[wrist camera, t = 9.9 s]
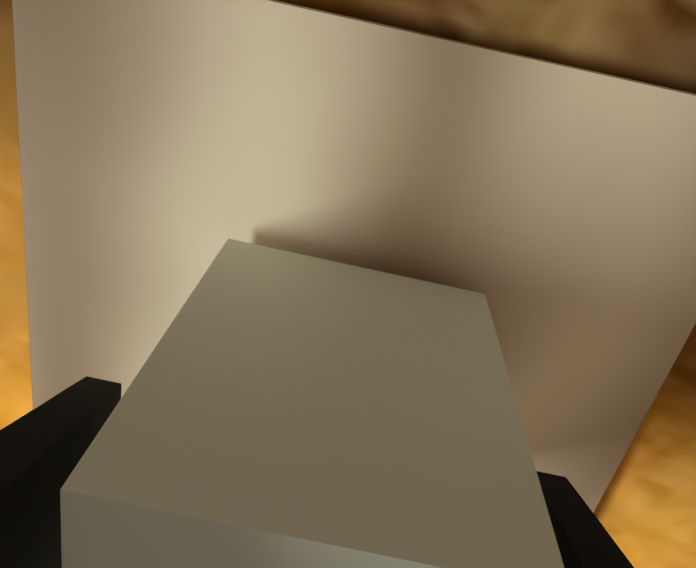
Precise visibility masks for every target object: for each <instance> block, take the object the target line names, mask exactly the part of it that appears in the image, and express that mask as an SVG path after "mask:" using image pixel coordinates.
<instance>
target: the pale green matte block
mask: <svg viewBox="0 0 696 568" xmlns="http://www.w3.org/2000/svg"><path fill="white" fill-rule="evenodd" d="M60 507H61V553H62V568H564V565H563V561H562V558H561V554H560V551H559V547H558V544H557V541H556V537H555V534H554V530H553V527H552V523H551V520H550V516H549V513H548V510H547V506H546V503H545V499H544V496H543V492H542V489H541V485H540V482H539V479H538V475H537V472H536V468H535V465H534V461H533V458H532V454H531V451H530V448H529V444H528V441H527V437H526V434H525V430H524V427H523V423H522V420H521V417H520V413H519V410H518V406H517V403H516V399H515V396H514V393H513V389H512V386H511V382H510V379H509V375H508V372H507V368H506V365H505V362H504V358H503V355H502V351H501V348H500V344H499V341H498V337H497V334H496V331H495V327H494V324H493V320H492V317H491V313H490V310H489V306H488V303H487V300H486V296H485V294H483V293H478V292H474V291H469V290H464V289H460V288H455V287H451V286H446V285H441V284H437V283H432V282H427V281H423V280H418V279H414V278H409V277H404V276H400V275H395V274H390V273H386V272H381V271H377V270H372V269H367V268H363V267H358V266H353V265H349V264H344V263H340V262H335V261H330V260H326V259H321V258H316V257H312V256H307V255H302V254H298V253H293V252H289V251H284V250H279V249H275V248H270V247H265V246H261V245H256V244H252V243H247V242H242V241H238V240H233V239H227V241H226V242H225V244H224V245H223V247H222V248H221V250H220V251H219V253H218V254H217V256H216V257H215V259H214V260H213V262H212V263H211V265H210V266H209V268H208V269H207V271H206V272H205V274H204V275H203V277H202V278H201V280H200V281H199V283H198V284H197V286H196V287H195V289H194V290H193V292H192V293H191V295H190V296H189V298H188V299H187V301H186V302H185V304H184V305H183V307H182V308H181V310H180V311H179V313H178V314H177V316H176V317H175V319H174V320H173V322H172V323H171V325H170V326H169V328H168V329H167V331H166V332H165V334H164V335H163V337H162V338H161V340H160V341H159V343H158V344H157V346H156V347H155V349H154V350H153V352H152V353H151V355H150V356H149V358H148V359H147V361H146V362H145V364H144V365H143V367H142V368H141V370H140V371H139V373H138V374H137V376H136V377H135V379H134V380H133V382H132V383H131V385H130V386H129V388H128V389H127V391H126V392H125V393H124V395H123V396H122V398H121V399H120V401H119V402H118V404H117V405H116V407H115V408H114V410H113V411H112V413H111V414H110V416H109V417H108V419H107V420H106V422H105V423H104V425H103V426H102V428H101V429H100V431H99V432H98V434H97V435H96V437H95V438H94V440H93V441H92V443H91V444H90V446H89V447H88V449H87V450H86V452H85V453H84V455H83V456H82V458H81V459H80V461H79V462H78V464H77V465H76V467H75V468H74V470H73V471H72V473H71V474H70V476H69V477H68V479H67V480H66V482H65V483H64V485H63V486H62V488H61V489H60Z"/></svg>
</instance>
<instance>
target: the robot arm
mask: <svg viewBox="0 0 696 568" xmlns="http://www.w3.org/2000/svg"><path fill="white" fill-rule="evenodd" d="M120 399H121V383H116V382H112V381H107V380H102V379H97V378H93V377H88V376H86V377H84V378H83V379H81V380H80V381H78V382H76V383H75V384H73V385H71V386H70V387H68V388H66V389H65V390H63V391H62V392H60V393H59V394H57V395H55V396H54V397H52V398H51V399H49V400H48V401H46V402H44V403H43V404H41V405H40V406H38V407H37V408H35V409H33V410H32V411H30V412H29V413H27V414H26V415H24V416H22V417H21V418H19V419H18V420H16V421H14V422H13V423H11V424H10V425H8V426H6V427H5V428H3V429H1V430H0V568H62V553H61V507H60V489H61V488H62V486H63V485H64V483H65V482H66V480H67V479H68V477H69V476H70V474H71V473H72V471H73V470H74V468H75V467H76V465H77V464H78V462H79V461H80V459H81V458H82V456H83V455H84V453H85V452H86V450H87V449H88V447H89V446H90V444H91V443H92V441H93V440H94V438H95V437H96V435H97V434H98V432H99V431H100V429H101V428H102V426H103V425H104V423H105V422H106V420H107V419H108V417H109V416H110V414H111V413H112V411H113V410H114V408H115V407H116V405H117V404H118V402H119V401H120ZM536 472H537V475H538V479H539V482H540V485H541V489H542V492H543V496H544V499H545V503H546V506H547V510H548V513H549V516H550V520H551V523H552V527H553V530H554V534H555V537H556V541H557V544H558V547H559V551H560V554H561V558H562V561H563V565H564V568H634V567H633V566H632V564H631V563H630V562H629V560H628V559H627V558H626V556H625V555H624V554H623V553H622V551H621V550H620V549H619V547H618V546H617V545H616V543H615V542H614V541H613V539H612V538H611V536H610V535H609V534H608V532H607V531H606V530H605V528H604V527H603V526H602V524H601V523H600V522H599V520H598V519H597V518H596V516H595V515H594V514H593V512H592V511H591V509H590V508H589V507H588V505H587V504H586V503H585V501H584V500H583V499H582V497H581V496H580V495H579V493H578V492H577V491H576V489H575V488H574V487H573V486H572V484H571V483H570V482H569V480H568V479H567V478H566V477H563V476H558V475H553V474H549V473H544V472H539V471H536Z"/></svg>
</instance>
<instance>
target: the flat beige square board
mask: <svg viewBox="0 0 696 568" xmlns="http://www.w3.org/2000/svg"><path fill="white" fill-rule="evenodd" d="M12 9H13V29H14V48H15V68H16V87H17V107H18V126H19V146H20V165H21V185H22V204H23V224H24V243H25V263H26V282H27V302H28V321H29V341H30V360H31V380H32V399H33V409H35V408H37V407H38V406H40V405H41V404H43V403H44V402H46V401H48V400H49V399H51V398H52V397H54V396H55V395H57V394H59V393H60V392H62V391H63V390H65V389H66V388H68V387H70V386H71V385H73V384H75V383H76V382H78V381H80V380H81V379H83V378H84V377H86V376H88V377H93V378H97V379H102V380H107V381H112V382H116V383H121V398H122V396H123V395H124V393H125V392H126V391H127V389H128V388H129V386H130V385H131V383H132V382H133V380H134V379H135V377H136V376H137V374H138V373H139V371H140V370H141V368H142V367H143V365H144V364H145V362H146V361H147V359H148V358H149V356H150V355H151V353H152V352H153V350H154V349H155V347H156V346H157V344H158V343H159V341H160V340H161V338H162V337H163V335H164V334H165V332H166V331H167V329H168V328H169V326H170V325H171V323H172V322H173V320H174V319H175V317H176V316H177V314H178V313H179V311H180V310H181V308H182V307H183V305H184V304H185V302H186V301H187V299H188V298H189V296H190V295H191V293H192V292H193V290H194V289H195V287H196V286H197V284H198V283H199V281H200V280H201V278H202V277H203V275H204V274H205V272H206V271H207V269H208V268H209V266H210V265H211V263H212V262H213V260H214V259H215V257H216V256H217V254H218V253H219V251H220V250H221V248H222V247H223V245H224V244H225V242H226V241H227V239H233V240H238V241H242V242H247V243H252V244H256V245H261V246H265V247H270V248H275V249H279V250H284V251H289V252H293V253H298V254H302V255H307V256H312V257H316V258H321V259H326V260H330V261H335V262H340V263H344V264H349V265H353V266H358V267H363V268H367V269H372V270H377V271H381V272H386V273H390V274H395V275H400V276H404V277H409V278H414V279H418V280H423V281H427V282H432V283H437V284H441V285H446V286H451V287H455V288H460V289H464V290H469V291H474V292H478V293H483V294H485V296H486V300H487V303H488V306H489V310H490V313H491V317H492V320H493V324H494V327H495V331H496V334H497V337H498V341H499V344H500V348H501V351H502V355H503V358H504V362H505V365H506V368H507V372H508V375H509V379H510V382H511V386H512V389H513V393H514V396H515V399H516V403H517V406H518V410H519V413H520V417H521V420H522V423H523V427H524V430H525V434H526V437H527V441H528V444H529V448H530V451H531V454H532V458H533V461H534V465H535V468H536V471H539V472H544V473H549V474H553V475H558V476H563V477H566V478H567V479H568V480H569V482H570V483H571V484H572V486H573V487H574V488H575V489H576V491H577V492H578V493H579V495H580V496H581V497H582V499H583V500H584V501H585V503H586V504H587V505H588V507H589V508H590V509H591V511H592V512H593V513H594V511H595V509H596V507H597V505H598V504H599V502H600V500H601V498H602V496H603V494H604V492H605V491H606V489H607V487H608V485H609V483H610V481H611V480H612V478H613V476H614V474H615V472H616V470H617V468H618V467H619V465H620V463H621V461H622V459H623V457H624V455H625V454H626V452H627V450H628V448H629V446H630V444H631V442H632V441H633V439H634V437H635V435H636V433H637V431H638V429H639V428H640V426H641V424H642V422H643V420H644V418H645V416H646V415H647V413H648V411H649V409H650V407H651V405H652V403H653V402H654V400H655V398H656V396H657V394H658V392H659V391H660V389H661V387H662V385H663V383H664V381H665V379H666V378H667V376H668V374H669V372H670V370H671V368H672V366H673V365H674V363H675V361H676V359H677V357H678V355H679V353H680V352H681V350H682V348H683V346H684V344H685V342H686V340H687V339H688V337H689V335H690V333H691V331H692V329H693V327H694V326H695V324H696V94H695V93H690V92H686V91H681V90H677V89H672V88H668V87H663V86H659V85H654V84H650V83H645V82H641V81H636V80H632V79H627V78H623V77H618V76H614V75H609V74H605V73H600V72H596V71H591V70H587V69H583V68H578V67H574V66H569V65H565V64H560V63H556V62H551V61H547V60H542V59H538V58H533V57H529V56H524V55H520V54H515V53H511V52H506V51H502V50H497V49H493V48H488V47H484V46H479V45H475V44H470V43H466V42H461V41H457V40H452V39H448V38H443V37H439V36H434V35H430V34H425V33H421V32H416V31H412V30H407V29H403V28H398V27H394V26H389V25H385V24H380V23H376V22H371V21H367V20H362V19H358V18H353V17H349V16H344V15H340V14H335V13H331V12H326V11H322V10H317V9H313V8H308V7H304V6H299V5H295V4H290V3H286V2H281V1H277V0H12Z"/></svg>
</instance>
